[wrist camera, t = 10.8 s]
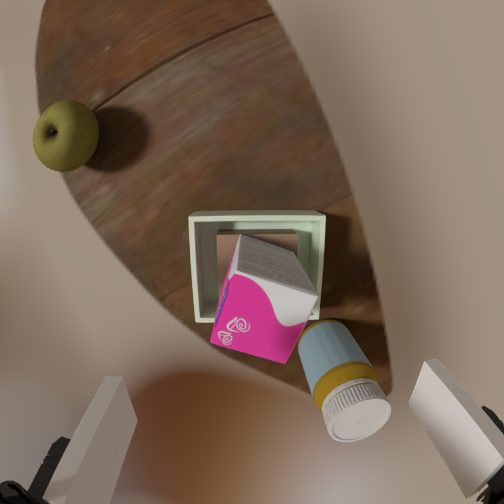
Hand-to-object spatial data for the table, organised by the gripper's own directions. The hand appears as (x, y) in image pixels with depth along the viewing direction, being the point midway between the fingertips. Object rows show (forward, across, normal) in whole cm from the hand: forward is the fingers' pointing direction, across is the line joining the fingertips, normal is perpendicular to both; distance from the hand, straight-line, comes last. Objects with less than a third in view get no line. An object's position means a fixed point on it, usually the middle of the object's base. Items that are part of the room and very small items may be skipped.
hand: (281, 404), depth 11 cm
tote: (+23, 0, 0) cm, 23 cm away
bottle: (+23, +9, -12) cm, 27 cm away
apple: (+23, -20, +15) cm, 34 cm away
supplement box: (+19, 0, 0) cm, 19 cm away
